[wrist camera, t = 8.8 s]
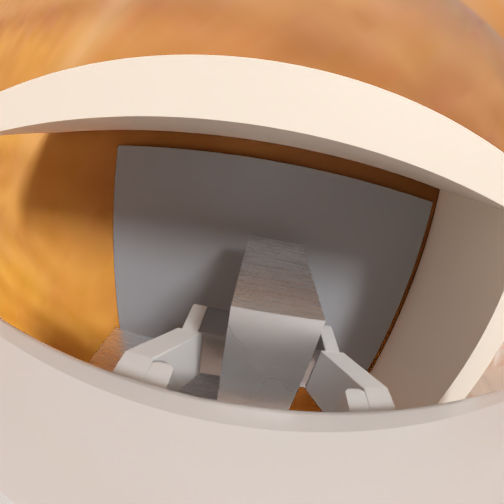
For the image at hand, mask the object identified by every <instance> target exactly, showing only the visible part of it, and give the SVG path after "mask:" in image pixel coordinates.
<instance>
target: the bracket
mask: <svg viewBox="0 0 504 504" xmlns="http://www.w3.org/2000/svg"><path fill="white" fill-rule="evenodd" d="M324 324H325V317H324V314H323V310H322V307H321V304H320V300H319V297H318V294H317V290H316V287H315V284H314V281H313V277H312V274H311V271H310V268H309V265H308V262H307V259H306V256H305V253H304V249H303V246H302V245H300V244H295V243H289V242H284V241H278V240H273V239H268V238H262V237H257V236H251V235H249V239H248V243H247V246H246V250H245V254H244V258H243V262H242V265H241V269H240V273H239V277H238V281H237V284H236V288H235V292H234V296H233V300H232V304H231V309H230V315H229V322H228V328H227V335H226V342H225V348H224V355H223V362H222V369H221V376H217V375H211V374H206V373H199V374H198V375H197V376H196V377H195V378H193V379H192V380H191V381H189V382H188V383H187V384H186V385H184V386H183V387H182V388H180V389H179V390H178V391H176V392H180V393H184V394H188V395H193V396H197V397H202V398H207V399H212V400H217V401H223V402H229V403H235V404H241V405H248V406H256V407H264V408H273V409H283V410H289V408H290V406H291V404H292V402H293V400H294V398H295V395H296V393H297V391H298V389H299V386H300V384H301V382H302V379H303V377H304V375H305V372H306V370H307V368H308V365H309V363H310V360H311V358H312V355H313V353H314V350H315V348H316V345H317V343H318V340H319V337H320V335H321V332H322V330H323V327H324ZM152 339H154V338H150V337H147V336H143V335H140V334H136V333H133V332H130V331H126V330H123V329H120V328H117V327H115V329H114V330H113V331H112V332H111V334H110V335H109V336H108V337H107V339H106V340H105V341H104V343H103V344H102V345H101V346H100V348H99V349H98V350H97V352H96V353H95V354H94V356H93V357H92V358H91V360H90V361H89V362H88V363H89V364H92V365H94V366H97V367H100V368H102V369H105V370H108V371H110V372H113V370H114V368H115V367H116V365H117V364H118V362H119V360H120V359H121V357H122V356H123V354H124V353H125V351H126V350H129V349H131V348H133V347H136V346H138V345H140V344H143V343H145V342H147V341H149V340H152Z"/></svg>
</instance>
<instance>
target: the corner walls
mask: <svg viewBox="0 0 504 504" xmlns="http://www.w3.org/2000/svg"><path fill="white" fill-rule="evenodd" d="M94 130H151V131H172V132H187V133H199V134H209V135H218V136H227V137H235V138H242V139H249V140H256V141H262V142H268V143H274V144H280V145H285V146H290V147H296V148H300V149H305V150H310V151H315V152H319V153H323V154H328V155H332V156H336V157H340V158H344V159H348V160H352V161H355V162H359V163H363V164H366V165H370V166H373V167H376V168H380V169H383V170H386V171H389V172H393V173H396V174H399V175H402V176H405V177H408V178H411V179H413V180H416V181H419V182H422V183H425V184H427V185H430V186H433V187H435V188H438V189H440V192H439V196H438V200H437V205H436V209H435V213H434V217H433V220H432V224H431V228H430V231H429V235H428V238H427V241H426V245H425V248H424V251H423V254H422V257H421V260H420V263H419V266H418V269H417V271H416V274H415V277H414V280H413V282H412V285H411V287H410V290H409V293H408V295H407V297H406V300H405V302H404V305H403V307H402V309H401V312H400V314H399V316H398V318H397V321H396V323H395V325H394V327H393V329H392V331H391V334H390V336H389V338H388V340H387V342H386V344H385V346H384V348H383V350H382V352H381V353H380V355H379V357H378V359H377V361H376V363H375V365H374V367H373V368H372V370H371V372H370V374H371V375H372V376H373V377H374V378H376V379H377V380H378V381H379V382H381V383H382V384H383V385H385V386H386V387H387V388H388V390H389V393H390V395H391V398H392V400H393V403H394V406H395V408H396V409H406V408H415V407H422V406H429V405H436V404H441V403H447V402H452V401H457V400H462V399H465V397H466V396H467V395H468V394H469V392H470V391H471V390H472V388H473V387H474V386H475V384H476V383H477V381H478V380H479V379H480V377H481V376H482V374H483V373H484V371H485V370H486V368H487V367H488V365H489V364H490V362H491V361H492V359H493V357H494V356H495V354H496V352H497V351H498V349H499V347H500V346H501V344H502V342H503V340H504V153H503V152H502V151H500V150H499V149H497V148H496V147H495V146H493V145H492V144H490V143H489V142H487V141H486V140H484V139H483V138H481V137H479V136H478V135H476V134H475V133H473V132H471V131H470V130H468V129H466V128H465V127H463V126H461V125H459V124H458V123H456V122H454V121H452V120H450V119H449V118H447V117H445V116H443V115H441V114H439V113H437V112H435V111H433V110H431V109H429V108H427V107H425V106H422V105H420V104H418V103H416V102H414V101H411V100H409V99H407V98H404V97H402V96H399V95H397V94H394V93H392V92H389V91H387V90H384V89H381V88H378V87H376V86H373V85H370V84H367V83H364V82H361V81H358V80H354V79H351V78H348V77H344V76H341V75H337V74H333V73H330V72H326V71H322V70H317V69H313V68H309V67H304V66H299V65H294V64H288V63H283V62H276V61H270V60H263V59H255V58H245V57H234V56H219V55H160V56H146V57H135V58H126V59H118V60H112V61H105V62H99V63H94V64H89V65H84V66H79V67H75V68H71V69H67V70H63V71H59V72H55V73H52V74H48V75H45V76H42V77H38V78H35V79H32V80H29V81H27V82H24V83H21V84H18V85H16V86H13V87H11V88H8V89H6V90H3V91H1V92H0V135H10V134H27V133H61V132H74V131H94Z"/></svg>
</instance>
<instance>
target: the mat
mask: <svg viewBox="0 0 504 504" xmlns="http://www.w3.org/2000/svg"><path fill="white" fill-rule="evenodd" d="M432 203H433V202H431V201H428V200H425V199H422V198H419V197H416V196H413V195H410V194H407V193H404V192H400V191H397V190H394V189H390V188H387V187H384V186H380V185H377V184H373V183H369V182H366V181H362V180H358V179H354V178H350V177H346V176H342V175H338V174H334V173H330V172H325V171H321V170H316V169H312V168H307V167H302V166H297V165H292V164H287V163H282V162H276V161H271V160H265V159H259V158H252V157H246V156H239V155H232V154H224V153H216V152H208V151H199V150H189V149H178V148H165V147H149V146H126V145H118V151H117V161H116V173H115V188H114V217H113V239H114V269H115V284H116V296H117V307H118V316H119V324H120V329H123V330H126V331H130V332H133V333H136V334H140V335H143V336H147V337H150V338H156V337H158V336H161V335H163V334H165V333H167V332H170V331H172V330H174V329H176V328H182V327H183V325H184V323H185V321H186V319H187V316H188V314H189V312H190V310H191V308H192V306H193V305H194V304H198V305H204V306H207V307H213V308H218V309H222V310H227V311H230V309H231V304H232V300H233V296H234V292H235V288H236V284H237V281H238V277H239V273H240V269H241V265H242V262H243V258H244V254H245V250H246V246H247V243H248V239H249V235H251V236H257V237H262V238H268V239H273V240H278V241H284V242H289V243H295V244H300V245H302V246H303V249H304V253H305V256H306V259H307V262H308V265H309V268H310V271H311V274H312V277H313V281H314V284H315V287H316V290H317V294H318V297H319V300H320V304H321V307H322V310H323V314H324V317H325V324H324V325H330V326H331V327H332V330H333V333H334V336H335V339H336V342H337V345H338V348H339V351H340V352H343V353H345V354H346V355H347V356H348V357H349V358H351V359H352V360H353V361H354V362H356V363H357V364H358V365H359V366H361V367H362V368H363V369H364V370H366V371H367V370H368V369H369V367H370V365H371V363H372V361H373V359H374V357H375V356H376V354H377V352H378V350H379V348H380V346H381V344H382V342H383V340H384V338H385V336H386V333H387V331H388V329H389V327H390V325H391V323H392V320H393V318H394V316H395V314H396V311H397V309H398V307H399V304H400V302H401V299H402V297H403V294H404V292H405V289H406V287H407V284H408V282H409V279H410V276H411V273H412V271H413V268H414V265H415V262H416V259H417V256H418V253H419V250H420V247H421V244H422V240H423V237H424V234H425V230H426V227H427V223H428V219H429V215H430V211H431V207H432Z"/></svg>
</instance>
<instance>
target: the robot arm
mask: <svg viewBox="0 0 504 504" xmlns="http://www.w3.org/2000/svg"><path fill="white" fill-rule="evenodd" d="M229 315H230V311H227V310H222V309H218V308H213V307H207V306H204V305H198V304H194V305H193V306H192V308H191V310H190V312H189V314H188V316H187V319H186V321H185V323H184V325H183V327H182V328H176V329H174V330H172V331H170V332H167V333H165V334H163V335H161V336H158V337H156V338H154V339H152V340H149V341H147V342H145V343H143V344H140V345H138V346H136V347H133V348H131V349H129V350H126V351H125V353H124V354H123V356H122V357H121V359H120V360H119V362H118V364H117V365H116V367H115V368H114V370H113V372H110V371H108V370H105V369H102V368H100V367H97V366H94V365H92V364H89V363H87V362H85V361H82V360H80V359H77V358H75V357H73V356H71V355H68V354H66V353H64V352H62V351H60V350H58V349H55V348H53V347H51V346H49V345H47V344H45V343H43V342H41V341H39V340H37V339H36V338H34V337H32V336H30V335H28V334H26V333H25V332H23V331H21V330H19V329H17V328H16V327H14V326H12V325H11V324H9V323H7V322H6V321H4V320H3V319H1V318H0V504H504V388H503V389H500V390H497V391H493V392H490V393H486V394H483V395H479V396H475V397H471V398H466V399H462V400H457V401H452V402H447V403H441V404H436V405H429V406H422V407H415V408H406V409H396V408H395V406H394V403H393V400H392V398H391V395H390V393H389V390H388V388H387V387H386V386H385V385H383V384H382V383H381V382H379V381H378V380H377V379H376V378H374V377H373V376H372V375H371V374H369V373H368V372H367V371H366V370H364V369H363V368H362V367H361V366H359V365H358V364H357V363H356V362H354V361H353V360H352V359H351V358H349V357H348V356H347V355H346V354H345V353H343V352H340V351H339V348H338V345H337V342H336V339H335V336H334V333H333V330H332V327H331V326H330V325H324V327H323V330H322V332H321V335H320V337H319V340H318V343H317V345H316V348H315V350H314V353H313V355H312V358H311V360H310V363H309V365H308V368H307V370H306V372H305V375H304V377H303V379H302V382H301V384H300V386H299V387H305V389H306V391H307V392H308V393H309V395H310V396H311V397H312V398H313V400H314V401H315V402H316V404H317V405H318V406H319V407H320V409H321V410H322V411H323V412H314V411H296V410H283V409H273V408H264V407H256V406H248V405H241V404H235V403H229V402H223V401H217V400H212V399H207V398H202V397H197V396H193V395H188V394H184V393H180V392H176V391H178V390H179V389H180V388H182V387H183V386H184V385H186V384H187V383H188V382H189V381H191V380H192V379H193V378H195V377H196V376H197V375H198V374H199V373H206V374H211V375H217V376H221V369H222V362H223V355H224V348H225V342H226V335H227V328H228V322H229Z"/></svg>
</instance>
